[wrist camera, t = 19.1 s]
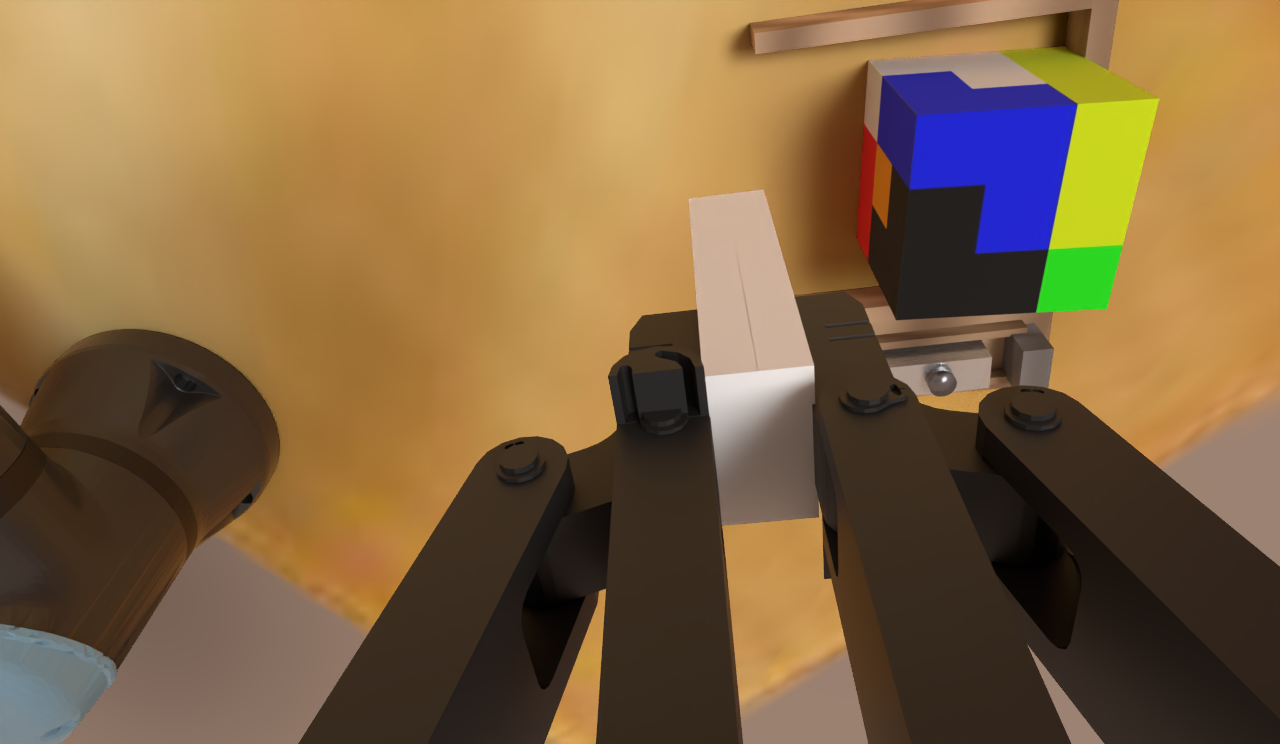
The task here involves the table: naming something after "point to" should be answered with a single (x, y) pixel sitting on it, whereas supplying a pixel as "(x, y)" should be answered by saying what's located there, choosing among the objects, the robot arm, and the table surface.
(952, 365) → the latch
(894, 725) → the robot arm
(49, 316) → the table surface
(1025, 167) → the puzzle toy
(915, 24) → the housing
